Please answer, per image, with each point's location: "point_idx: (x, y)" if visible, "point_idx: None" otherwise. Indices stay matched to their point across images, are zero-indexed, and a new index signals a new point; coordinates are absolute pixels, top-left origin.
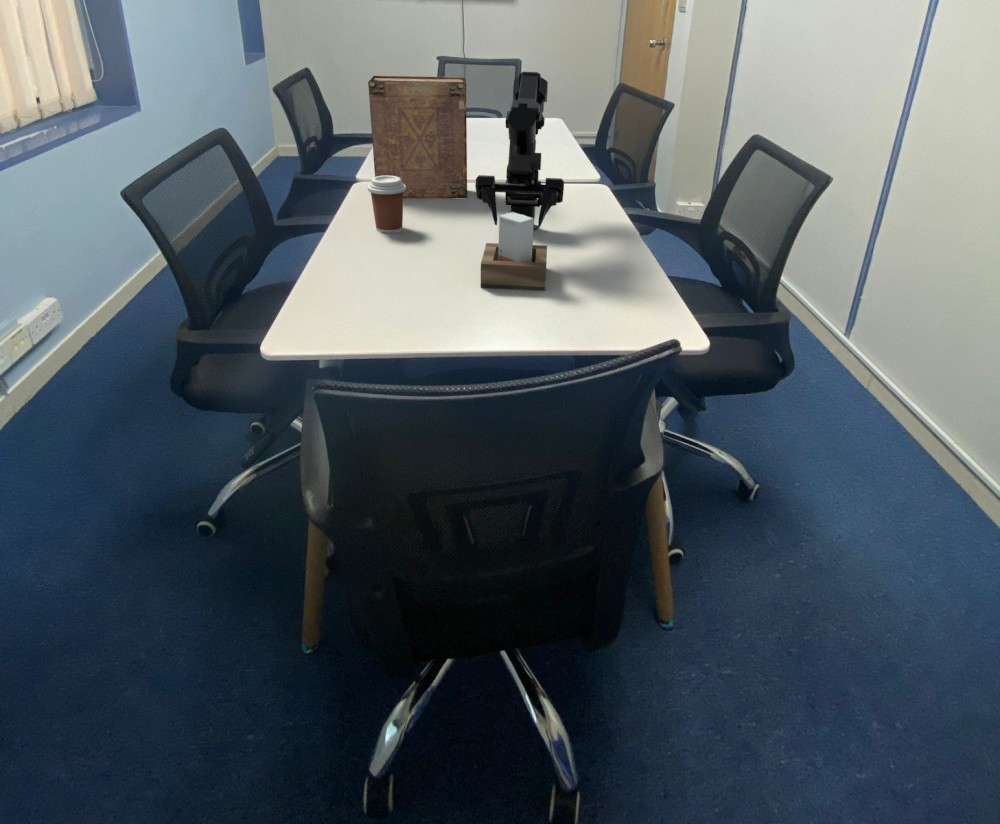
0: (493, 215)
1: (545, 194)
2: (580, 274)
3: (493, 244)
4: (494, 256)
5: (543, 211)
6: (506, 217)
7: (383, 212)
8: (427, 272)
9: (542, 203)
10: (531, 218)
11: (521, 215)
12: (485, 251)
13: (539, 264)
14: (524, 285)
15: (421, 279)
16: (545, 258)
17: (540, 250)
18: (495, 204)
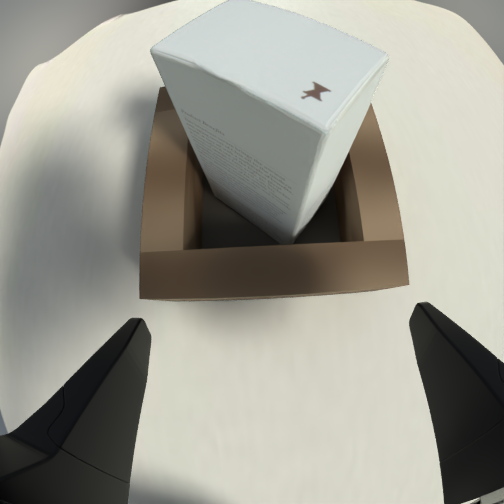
0: (457, 325)
1: (3, 462)
2: (83, 262)
3: (379, 269)
4: (348, 168)
5: (79, 378)
6: (334, 30)
7: None
8: (481, 208)
9: (63, 430)
10: (164, 38)
11: (234, 62)
12: (388, 178)
13: None
14: None
15: (473, 165)
16: (152, 147)
17: (165, 228)
18: (490, 381)
